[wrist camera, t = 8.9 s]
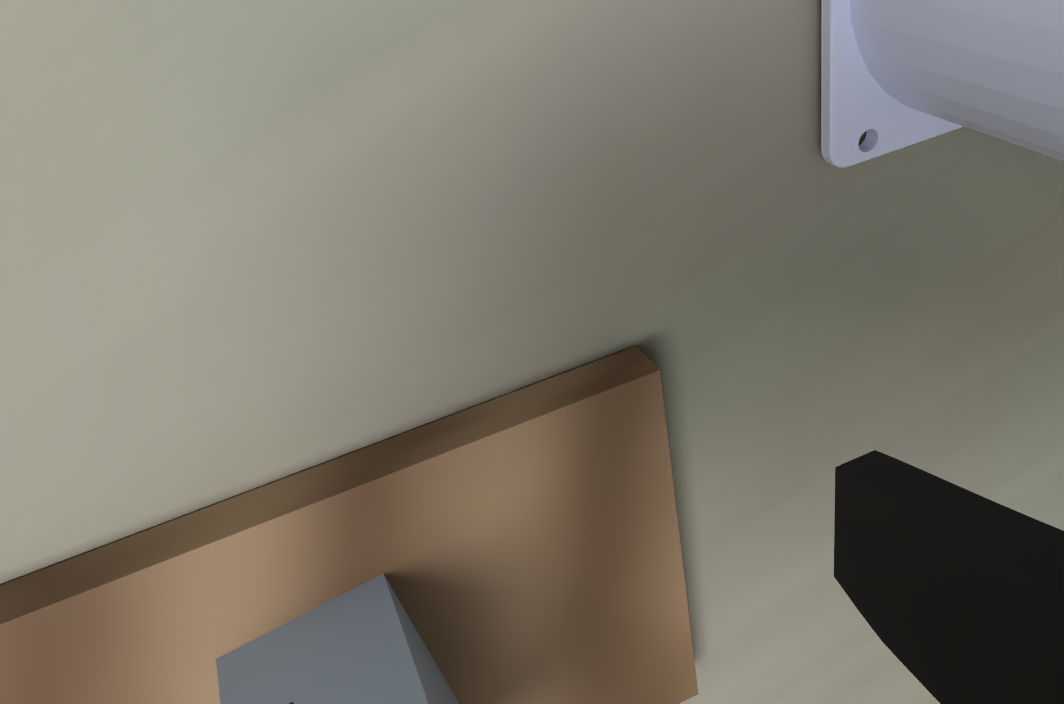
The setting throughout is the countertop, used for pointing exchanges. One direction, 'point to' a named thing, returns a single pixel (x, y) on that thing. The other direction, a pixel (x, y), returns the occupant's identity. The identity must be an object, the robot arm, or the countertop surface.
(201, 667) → the shelf board
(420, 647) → the carton
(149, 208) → the countertop surface
